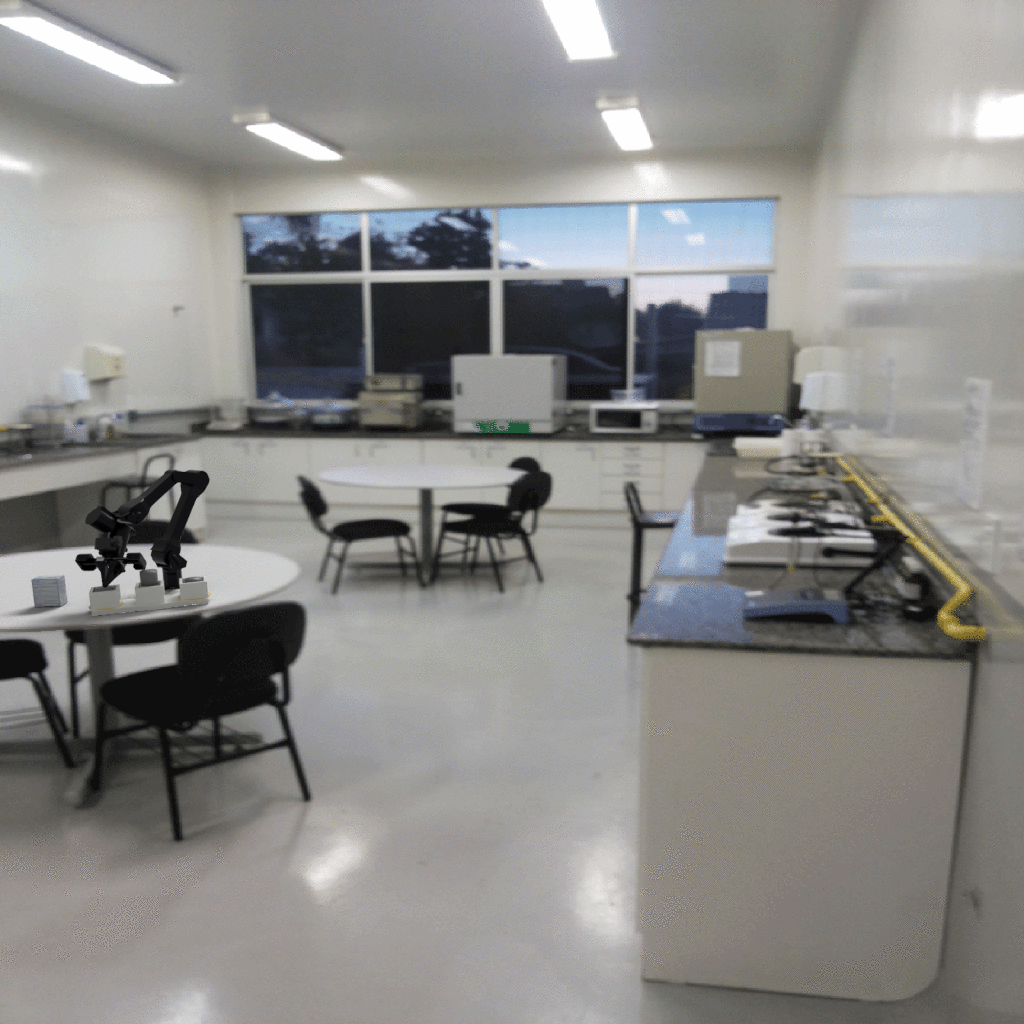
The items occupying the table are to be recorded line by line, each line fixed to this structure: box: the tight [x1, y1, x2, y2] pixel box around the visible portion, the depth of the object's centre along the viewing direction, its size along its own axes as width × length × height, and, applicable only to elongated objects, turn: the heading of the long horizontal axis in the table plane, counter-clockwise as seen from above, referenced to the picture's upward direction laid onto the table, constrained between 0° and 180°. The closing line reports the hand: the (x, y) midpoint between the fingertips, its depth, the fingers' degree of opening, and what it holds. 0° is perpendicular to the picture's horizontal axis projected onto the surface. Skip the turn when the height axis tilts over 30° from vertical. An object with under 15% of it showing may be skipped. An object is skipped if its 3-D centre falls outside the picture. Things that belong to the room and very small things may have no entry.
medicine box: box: [30, 574, 69, 608], centre depth 262 cm, size 8×4×9 cm, turn 92°
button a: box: [184, 576, 202, 583], centre depth 263 cm, size 5×5×4 cm
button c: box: [95, 584, 114, 592], centre depth 254 cm, size 5×5×4 cm
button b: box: [138, 568, 159, 586], centre depth 258 cm, size 5×5×4 cm
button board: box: [88, 575, 211, 617], centre depth 259 cm, size 10×33×6 cm, turn 111°
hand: (104, 586), depth 254 cm, fingers closed, pressing on button c
